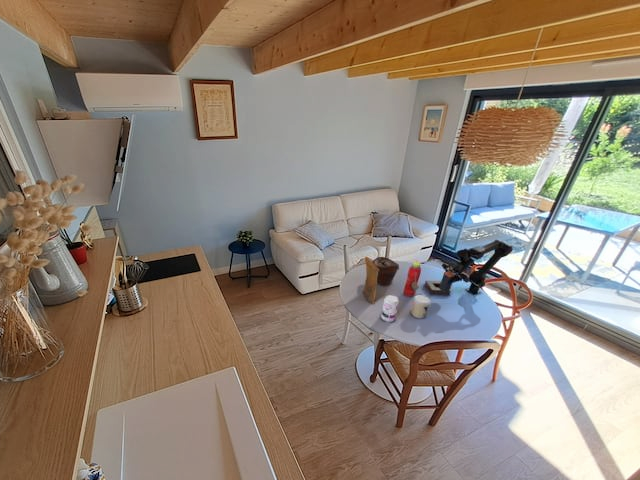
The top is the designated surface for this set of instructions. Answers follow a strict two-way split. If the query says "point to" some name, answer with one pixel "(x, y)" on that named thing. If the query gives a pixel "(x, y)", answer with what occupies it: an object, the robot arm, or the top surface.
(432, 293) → the base pad
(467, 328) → the top surface
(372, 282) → the pancake mix bag
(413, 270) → the water bottle
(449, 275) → the pad post
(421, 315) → the coffee cup
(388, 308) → the supplement can
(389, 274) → the brown flower pot
